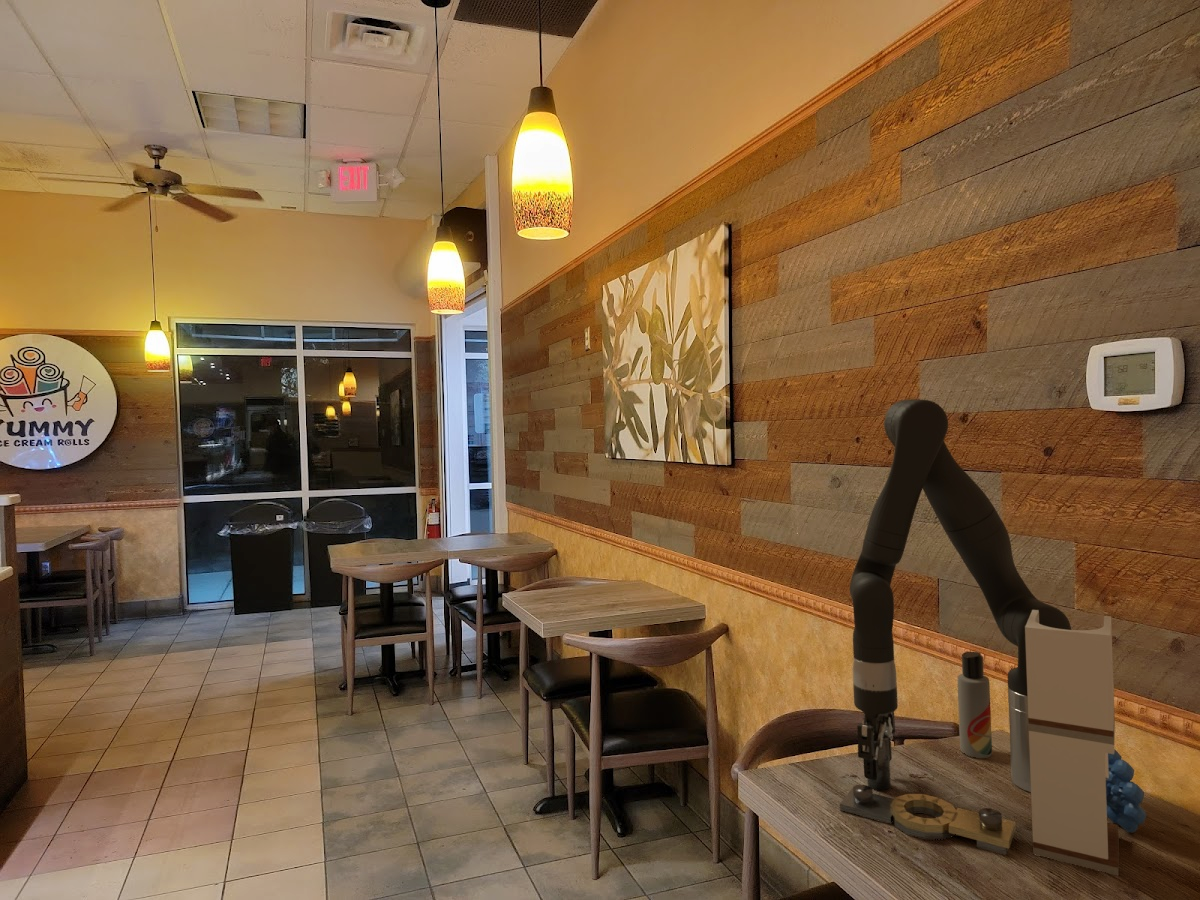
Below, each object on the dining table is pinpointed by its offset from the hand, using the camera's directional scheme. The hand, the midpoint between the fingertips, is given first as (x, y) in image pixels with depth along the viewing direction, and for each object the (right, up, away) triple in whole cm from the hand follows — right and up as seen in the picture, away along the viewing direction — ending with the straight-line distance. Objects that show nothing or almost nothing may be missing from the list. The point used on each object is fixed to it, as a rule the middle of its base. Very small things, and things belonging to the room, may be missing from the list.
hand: (878, 769), depth 137 cm
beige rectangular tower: (+22, -3, -22) cm, 31 cm away
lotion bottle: (+24, -2, +11) cm, 26 cm away
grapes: (+32, -2, -16) cm, 36 cm away
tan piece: (+3, -3, -13) cm, 14 cm away
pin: (0, -3, 0) cm, 3 cm away
